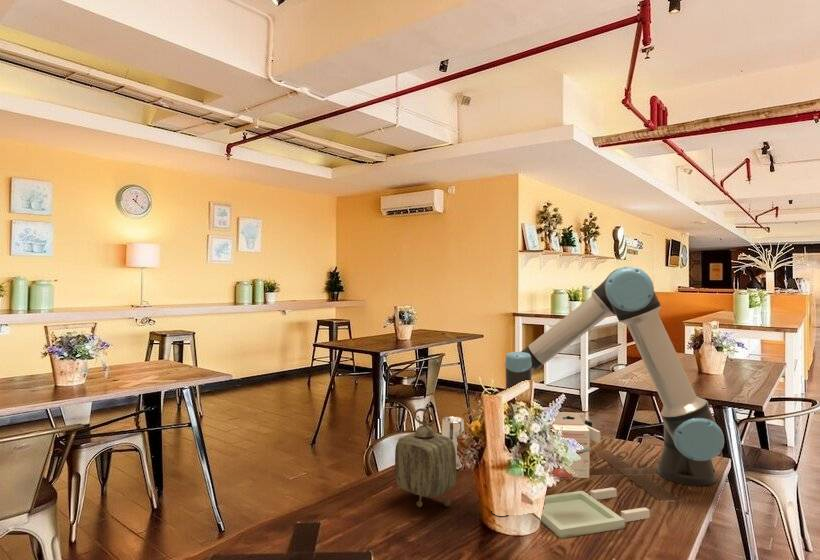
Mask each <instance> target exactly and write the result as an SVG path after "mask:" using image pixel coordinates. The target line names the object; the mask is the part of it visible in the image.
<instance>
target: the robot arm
mask: <svg viewBox="0 0 820 560" xmlns="http://www.w3.org/2000/svg"><path fill="white" fill-rule="evenodd" d="M661 308H662V305H661V302H660V301H659V298H658V296H657V295H656V292H655V287H654V283H653V280H652V279H651V277H650V276H649V274H648V273H646V272H645V271H644V270H643V269H641V268H639V267H636V266H635V267H634V266H623V267H619V268H617V269H615V270H613V271H612V272H610V273H609V275H608V276H607V277H606V278H605V280H603V281H602V282H601V283H600V284H599V285H598V286H597V287H596V288H594V289H593V290H592V292H591V296H590V297H588V298H587V299H586V300H585V301H584V302H582V303H581V304H580V305H579V306H577V307H576V308H574V309H573V310H572V311H570V312H569V313H568V314H567V315H566V316H564V317H563V318H562V319H560V320H559V321H558V322H557V323H556V324H554V325H553V326H552V327H550V328H549V329H547V330H546V331H545V332H544V333H543V334H541V335H539V336H538V337H537V338H536V339H535V340H534V341H532V342H531V343H530V344H529V345H528V346H526V347H525V348H524V349H522V350H521V351H511V352H507V353H506V355H505V363H504V366H505V390H506V389H507V388H510V387H512V386H514V385H516V384H517V383H519V382H521V381H525V380H531V381H532V375H533V374H534V373H536V372H537V370H539V369H540V368H542V367H543V366H544V365H545V364H546V363H547V362H549V361H550V360H552V359H553V358H554V357H556V356H558V354H560V353H561V352H562V351H564V350H565V349H567V347H569V346H570V345H572V344H573V343H574V342H575V341H577V340H578V339H579V338H580V337H582V336H583V335H584V334H586V333H587V332H589V331H590V330H592V328H594V327H595V326H597V325H598V324H599V323H600V322H602V321H603V320H604V319H606V318H607V317H608V316H609V317H610V316H613V317H614V316H615V317H616V318H617V320H618V322H619V323H621V324H624V325H626V326H627V329H628V331H629V332H630V335H631V337H632V340H633V341H634V344H635V346H636V348H637V351H638V353H639V354H640V357H641V359H642V361H643V363H644V365H645V368H646V371H647V372H648V374H649V376H650V378H651V381H652V383H653V385H654V387H655V389H656V392H657V394H658V396H659V399H660V400H661V402H662V405H663V406H662V409H661V412H660V415H661V417H662V419H663V449H662V452H661V455H660V458H659V459H660V460H659V461H658V463H657V474H659V476H660V477H662V478H664V479H666V480H667V481H670V482H673V483H677V484H682V485H687V486H696V487H697V486H700V487H701V486H702V487H703V486H710V485H713V484H715V483H716V482H717V473H716V469H715V468H714V464H713V459H714V458H716V457H717V456H718V455H720V453H721V452H722V450H723V448H724V445H725V437H724V436H725V435H724V432H723V430H722V428H721V427H720V426H719V425H718V424H717V422H716V419H715V418H714V416H713V414H712V412H711V410H710V409H711V408H710V407H709V406H710V405H709V401H708V400H706V399H705V398H702V397H700V396H697V394H696V392H695V390H694V387H693V385H692V383H691V381H690V378H689V377H688V375H687V372H686V371H685V369H684V366H683V364H682V362H681V359H680V357H679V356H678V353H677V352H676V349H675V346H674V344H673V342H672V341H671V338H670V336H669V334H668V332H667V330H666V328H665V326H664V324H663V321H662V319H661V317H660V315H659V312H660V311H661ZM533 399H534V398H533ZM534 401H535V402H536V403H538V404H540V405H541V406H543V407H549V406H548V405H547V404H545V403H543V402H541V401H539V400H537V399H534ZM563 419H572V420H573V419H574V417H570V416H567V417H563ZM585 425H586V426H587V428H588V429H589V430H590V440H591V441H593V442H595V443H597V444H601V431H600V430H598V429H596V428H594V427H593V422H592V421H589V420H586V419H585ZM551 430H552V432H554V433H556V432H557V431H555V430H553V429H551ZM561 437H562V438H563V435H562V434H561Z"/></svg>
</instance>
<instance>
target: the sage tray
mask: <svg viewBox="0 0 820 560" xmlns="http://www.w3.org/2000/svg"><path fill="white" fill-rule="evenodd" d="M545 496H546V497H545V505H544V509H543V511H542V516H541V522H542V523H543V524H544V525H545V526H546V527H547V528H548V529H550V531H551V532H552V533H554V535H556V536H557V537H558V538H559V539H565V538H566V539H567V538H573V537H578V536H583V535H584V536H585V535H590V534H597V533H598V534H599V533H603V532H609V531H615V530H621V529H626V527H625V525H626V522H625V520H624V519H623V518H622V517H621V515H619V514H617V513H616V512H614V511H613V510H612V509H610V508H609V507H607V506H606V505H605V504H603V503H601V502H600V501H599V500H596V499H594V498H593V497H591V496H590V495H589V494H588V493H586V492H585V491H584V490H576V491H571V492H570V491H569V492H562V493H555V494H549V495H545Z"/></svg>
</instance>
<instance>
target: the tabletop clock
mask: <svg viewBox="0 0 820 560" xmlns="http://www.w3.org/2000/svg"><path fill="white" fill-rule="evenodd" d="M418 412H424V413H427V414H429V415H430V416H431V417H432V421H431V422H427V419H425V418H424V419H422V421H421V420H419V419H418V418H417V416H416V415H417V413H418ZM413 414H414V415H413V416H414V419H415V421H416V423H418V424H419V425H420V426H418V427H416V430H415V432H413V433H411V434H410V433H409V434H407V435H405V436H402V437H399V439H398V440H397V442H396V446H395V451H394V468H395V469H394V470H395V474H394V475H395V480H396V484H397V485H398V486H399V487H400V488H401V489H402V490H405V491H407V492H409V493H412V494H413V495H415V496H418V498H419V499H418V501H416V507H418V508H422V507H423V504H424V503H423V501H422V498H423V497H425V498H429V499H433V498H437V497H439V496H440V498H441V499H442V500H443V505H444V506H445V507H450V505H451V501H450V500H449V499H446V497H445V495H444V493H446V492H449V491H450V490H452V489H454V487H455V485H456V480H457V471H456V467H457V465H456V452H455V446H454V443H453V441H452V440H451V439H450V438H448V437H446V436H444V435H442V433H438V432H435V431H434V429H433V428H432V427H431V426H432V425H433V424H435V421H436V419H435V415H434V413H433V412H431V410H429V409H427V408H423V407H422V408H421V407H419V408H417V409H416V410H415V411H414V413H413Z"/></svg>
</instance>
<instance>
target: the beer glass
mask: <svg viewBox="0 0 820 560" xmlns="http://www.w3.org/2000/svg"><path fill="white" fill-rule="evenodd" d="M464 421H465V420H464V418H463V417H461V416H445V417H443V418H442V422H441V423H442V424H441V435H444V436H446V437H448V438H450V439H451V440H452V441H453V443H454V446H455V452H456V465H457V467H456V469H459V468H461V467H462V464H461V462H460V459H459V457H458V455H457V445H458V442H457V437H459V436H460V435H461V434H462V432H463V431H464V432H465V422H464Z"/></svg>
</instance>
